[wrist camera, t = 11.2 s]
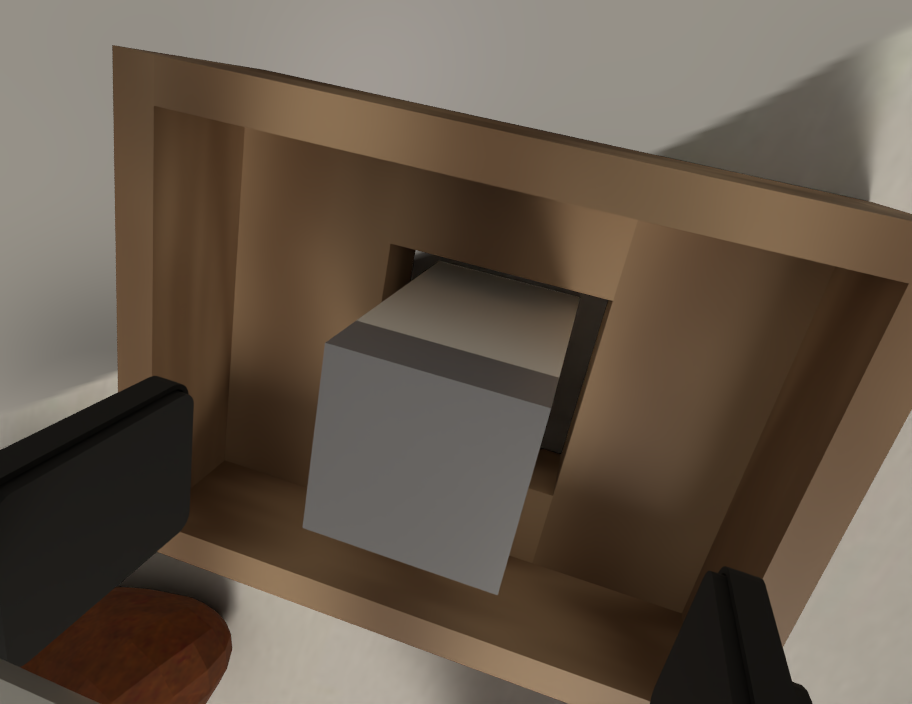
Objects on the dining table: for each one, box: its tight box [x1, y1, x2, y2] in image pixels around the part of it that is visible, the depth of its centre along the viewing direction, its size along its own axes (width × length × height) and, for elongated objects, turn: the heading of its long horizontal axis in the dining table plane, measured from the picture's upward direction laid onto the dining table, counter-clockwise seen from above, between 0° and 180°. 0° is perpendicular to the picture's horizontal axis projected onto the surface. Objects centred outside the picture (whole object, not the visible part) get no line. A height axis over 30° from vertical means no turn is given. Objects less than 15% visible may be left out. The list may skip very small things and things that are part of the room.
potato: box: [20, 587, 232, 704], centre depth 25 cm, size 8×12×8 cm, turn 109°
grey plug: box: [303, 261, 580, 595], centre depth 16 cm, size 4×4×8 cm
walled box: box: [112, 46, 912, 704], centre depth 17 cm, size 17×13×6 cm
